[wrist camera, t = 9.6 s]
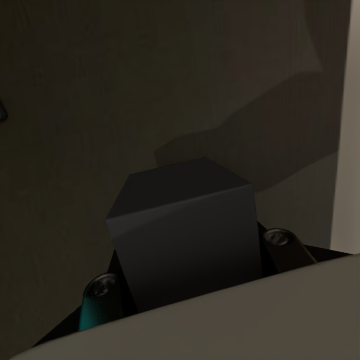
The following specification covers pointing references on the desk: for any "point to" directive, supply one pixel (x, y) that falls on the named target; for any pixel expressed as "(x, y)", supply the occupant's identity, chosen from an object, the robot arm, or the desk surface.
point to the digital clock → (185, 232)
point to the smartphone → (2, 113)
